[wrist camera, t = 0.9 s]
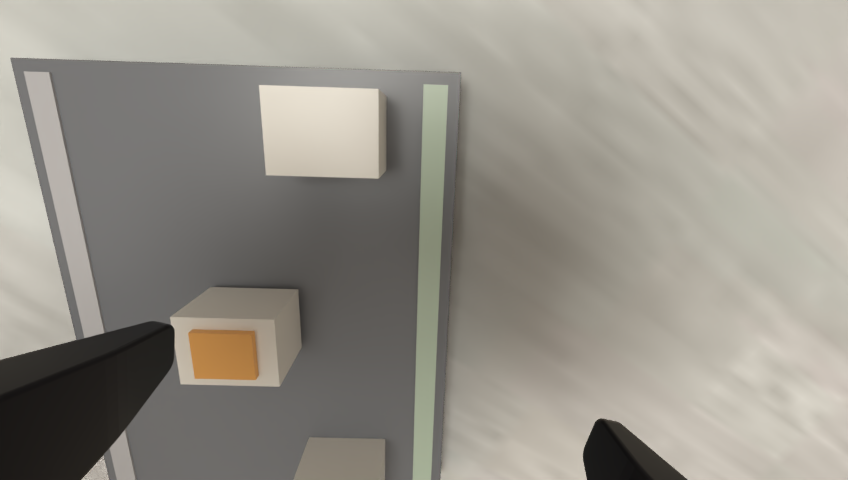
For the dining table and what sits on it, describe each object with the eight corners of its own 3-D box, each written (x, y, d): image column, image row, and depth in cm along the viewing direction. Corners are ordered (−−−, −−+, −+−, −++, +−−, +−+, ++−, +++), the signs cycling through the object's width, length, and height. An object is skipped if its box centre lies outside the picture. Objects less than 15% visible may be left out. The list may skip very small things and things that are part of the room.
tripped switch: (218, 345, 19) (175, 389, 16) (210, 287, 18) (165, 320, 15) (301, 347, 19) (276, 391, 16) (298, 289, 18) (271, 323, 15)
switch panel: (137, 463, 23) (63, 548, 19) (55, 65, 17) (-84, 41, 13) (437, 469, 24) (441, 556, 19) (456, 78, 18) (469, 59, 13)
